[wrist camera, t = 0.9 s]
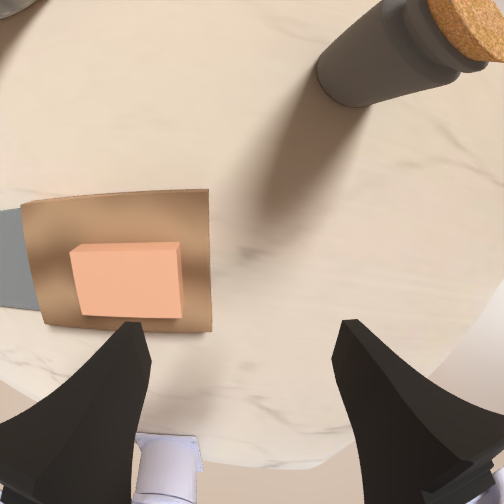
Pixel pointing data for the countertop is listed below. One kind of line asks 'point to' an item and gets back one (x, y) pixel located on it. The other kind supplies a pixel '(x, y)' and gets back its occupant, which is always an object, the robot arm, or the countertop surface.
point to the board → (118, 231)
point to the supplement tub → (13, 7)
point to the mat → (15, 264)
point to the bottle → (410, 49)
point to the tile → (129, 279)
